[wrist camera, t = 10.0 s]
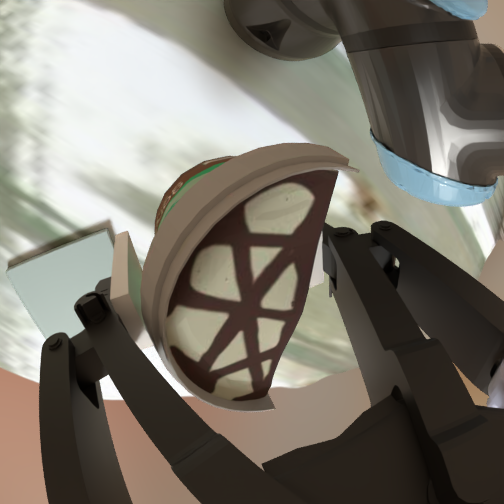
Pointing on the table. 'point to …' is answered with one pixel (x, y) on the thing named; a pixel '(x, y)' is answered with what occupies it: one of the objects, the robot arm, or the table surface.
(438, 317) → the robot arm
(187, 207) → the food container
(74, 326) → the teal board
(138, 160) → the table surface
